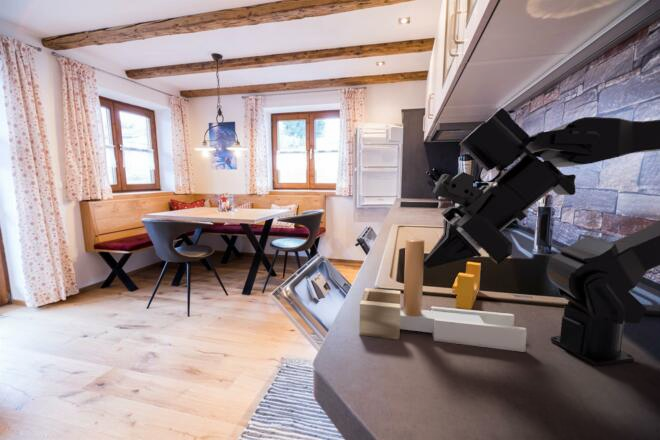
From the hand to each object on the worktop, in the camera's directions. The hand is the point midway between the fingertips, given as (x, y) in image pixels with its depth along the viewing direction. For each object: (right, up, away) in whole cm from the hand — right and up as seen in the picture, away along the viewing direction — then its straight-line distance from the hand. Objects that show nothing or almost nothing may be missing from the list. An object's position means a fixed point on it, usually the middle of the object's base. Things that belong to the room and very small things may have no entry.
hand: (425, 265), depth 45 cm
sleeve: (+7, -11, 0) cm, 13 cm away
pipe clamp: (+13, -9, +16) cm, 22 cm away
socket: (-6, -10, +3) cm, 13 cm away
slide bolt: (+2, -10, +1) cm, 10 cm away
